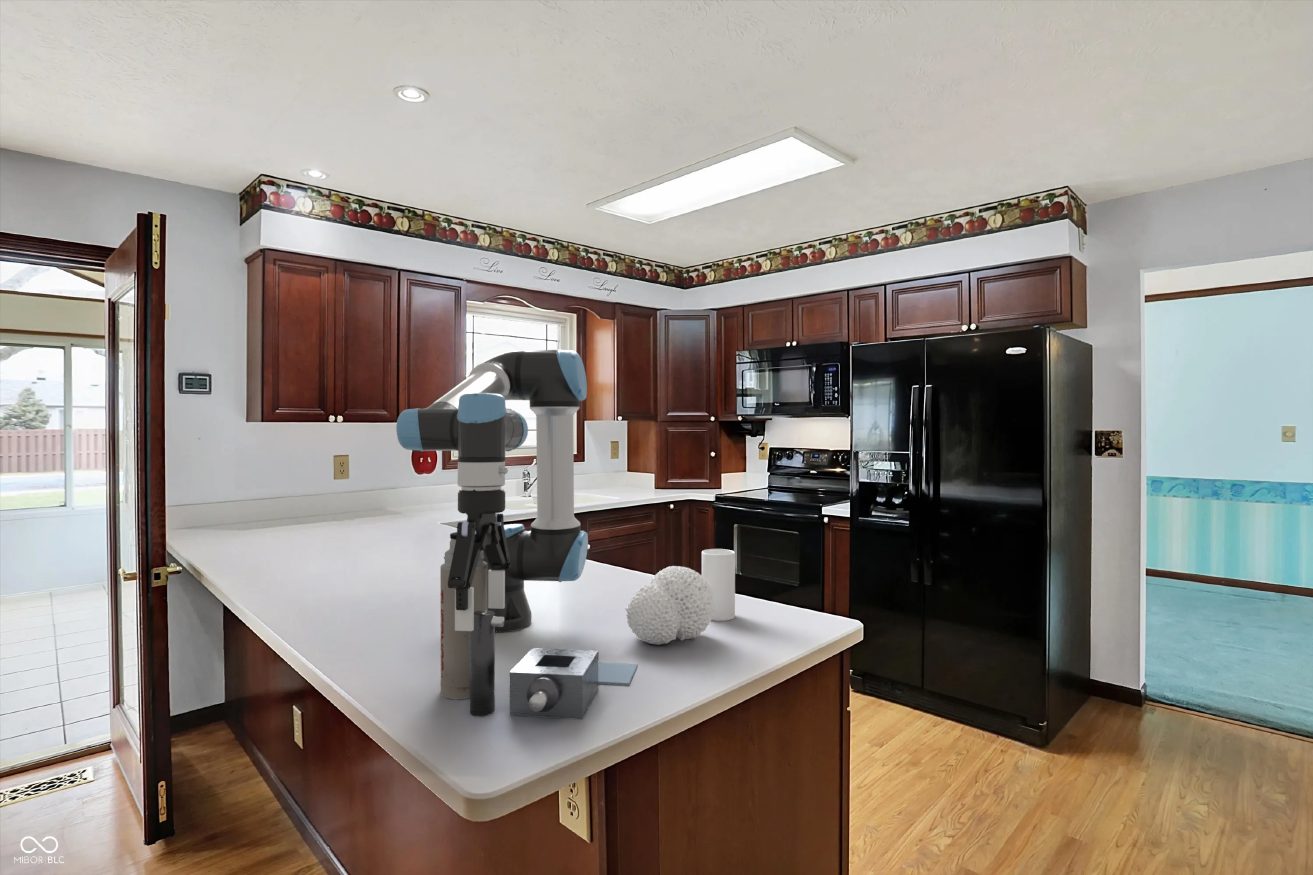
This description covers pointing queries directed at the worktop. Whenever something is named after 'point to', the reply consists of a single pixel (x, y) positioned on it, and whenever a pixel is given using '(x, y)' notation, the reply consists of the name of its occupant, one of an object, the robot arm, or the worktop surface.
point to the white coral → (671, 606)
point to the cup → (720, 581)
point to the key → (483, 662)
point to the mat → (615, 673)
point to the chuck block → (554, 683)
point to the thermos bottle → (457, 642)
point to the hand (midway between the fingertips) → (481, 618)
